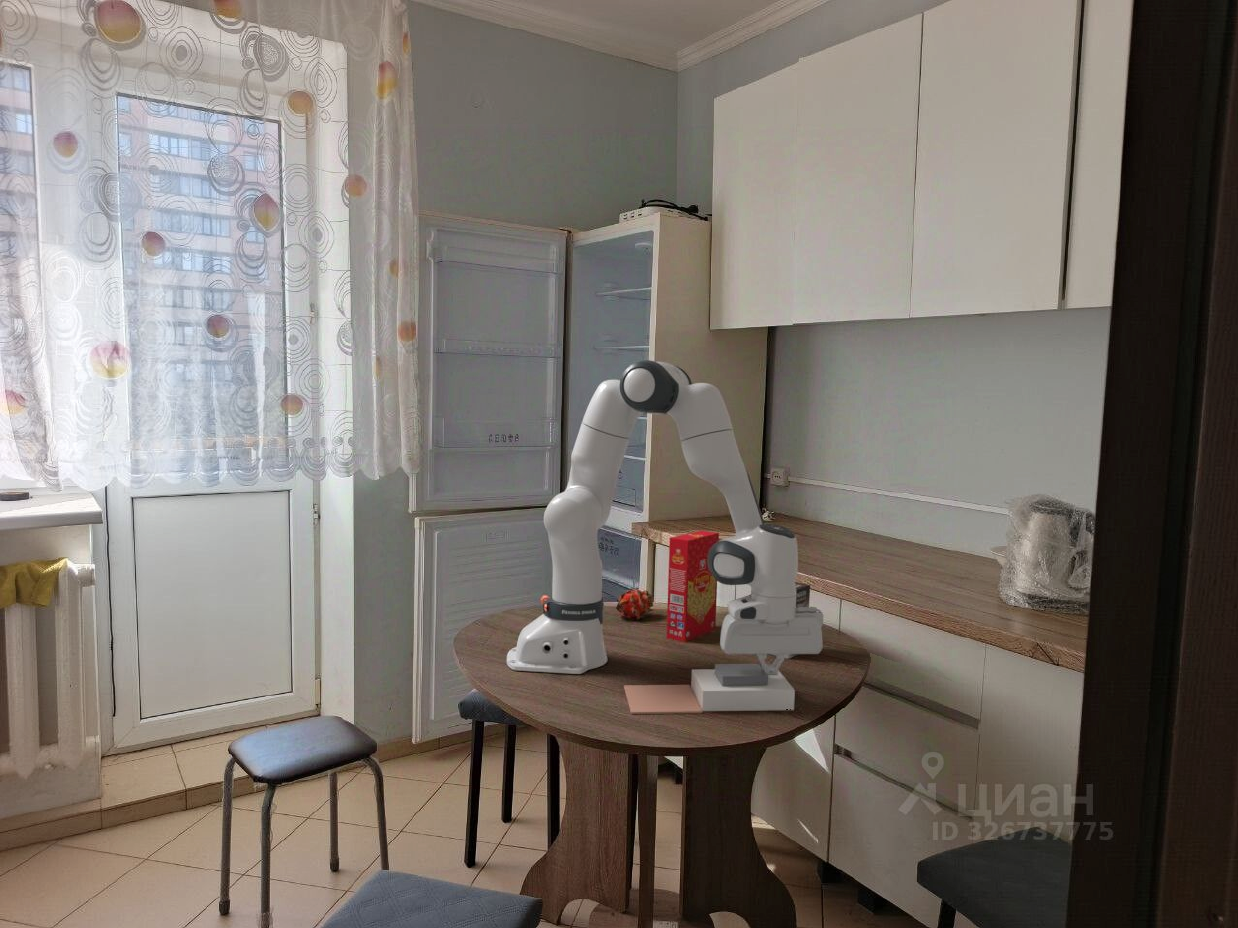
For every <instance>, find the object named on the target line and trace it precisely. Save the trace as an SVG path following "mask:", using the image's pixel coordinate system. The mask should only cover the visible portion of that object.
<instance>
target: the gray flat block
mask: <svg viewBox="0 0 1238 928" xmlns="http://www.w3.org/2000/svg"><path fill="white" fill-rule="evenodd" d="M714 669H715V675H716V677H717V679H718V680H719V682H720V683H721V685H722V686H768V675H767V674H766V673H765V671H764V670H763V669H762V665H760V664H759V663H715V664H714Z"/></svg>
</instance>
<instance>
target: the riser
mask: <svg viewBox="0 0 1238 928" xmlns="http://www.w3.org/2000/svg"><path fill="white" fill-rule="evenodd" d="M690 687H691V689H692V691H693V693H694V695H695V697H696V699H697V701H698V703H699V705H700V707H701V709H702V712H738V711H739V712H745V711H746V712H748V711H749V712H750V711H753V712H754V711H757V712H758V711H794V710H795V696H796V695H795V694H796V693H795V692H796V690H795V689H794V687H793V686H792V685H791V684H790V683H789V681H788V679H786V677H785V675H783V674H782V672H780V670H779V669H778V675H768V686H722V685H721V683H720V682H719V680H718V679H717V677H716V675H715V668H714V669H713V668H712V669H709V668H708V669H706V668H705V669H704V668H702V669H701V668H699V669H691V682H690ZM786 709H788V710H786ZM790 709H791V710H790Z"/></svg>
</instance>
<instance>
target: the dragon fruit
mask: <svg viewBox="0 0 1238 928" xmlns="http://www.w3.org/2000/svg"><path fill="white" fill-rule="evenodd" d="M635 589H636V590H631V589H628V590H626V592H624V593H621V594H620V595H619V600H618V602H617V605H616V606H615V609H616V611H617V612H619V615H620V618H621V619H628V620H629V619H631V618H634V617H635V618H636V620H640V619H641V618H644V617H645V614H649V613H651V612H653V610H654V609H653V608H652V607H653V606H654V602H653V601H654V599H653V598H654V597H653V595H651V594H650V593H649V591H648V590H645V589H644V590H640V589H639V587H636V588H635ZM651 608H652V609H651Z"/></svg>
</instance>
